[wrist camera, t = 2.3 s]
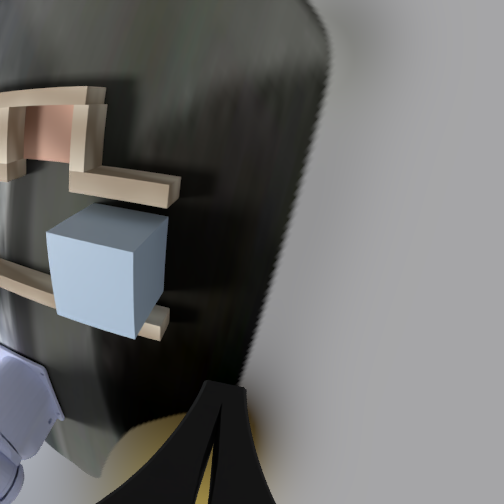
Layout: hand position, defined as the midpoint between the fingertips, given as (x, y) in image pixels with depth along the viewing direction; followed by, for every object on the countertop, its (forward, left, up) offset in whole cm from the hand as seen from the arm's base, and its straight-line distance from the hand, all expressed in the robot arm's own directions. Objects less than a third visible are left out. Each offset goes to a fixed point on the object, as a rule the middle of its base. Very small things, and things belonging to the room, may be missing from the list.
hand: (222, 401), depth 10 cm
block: (0, +8, -10) cm, 12 cm away
